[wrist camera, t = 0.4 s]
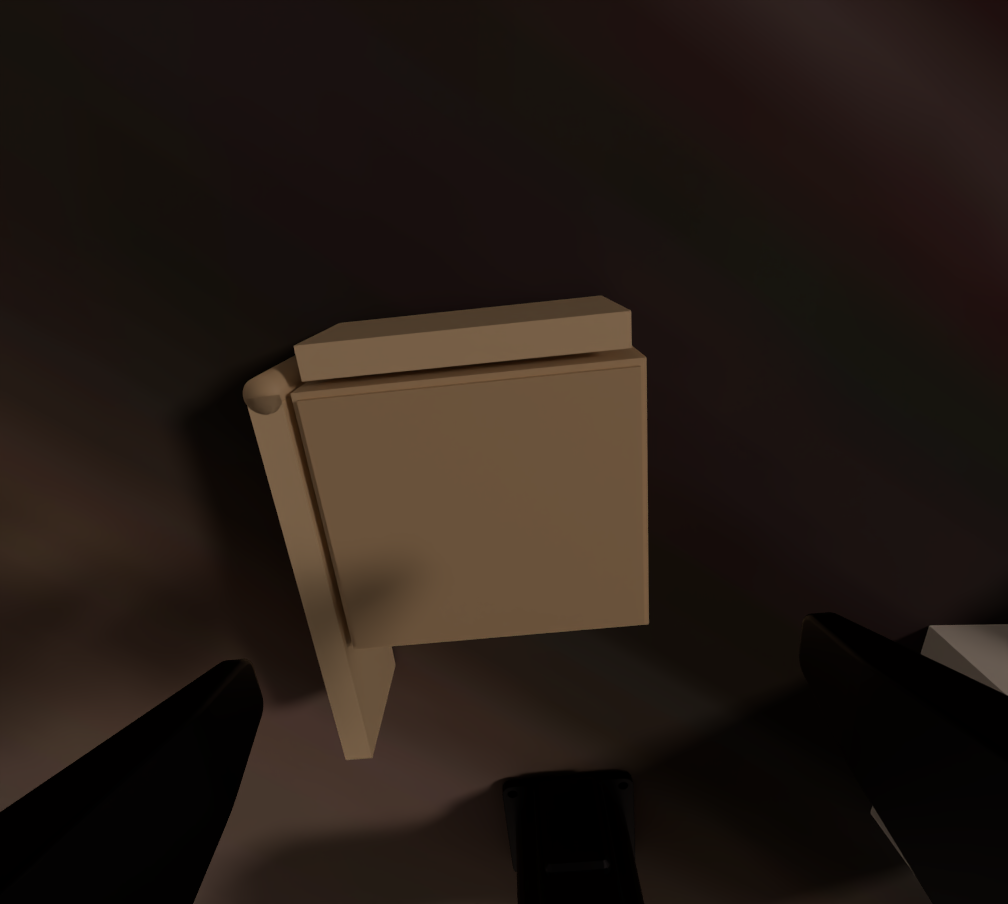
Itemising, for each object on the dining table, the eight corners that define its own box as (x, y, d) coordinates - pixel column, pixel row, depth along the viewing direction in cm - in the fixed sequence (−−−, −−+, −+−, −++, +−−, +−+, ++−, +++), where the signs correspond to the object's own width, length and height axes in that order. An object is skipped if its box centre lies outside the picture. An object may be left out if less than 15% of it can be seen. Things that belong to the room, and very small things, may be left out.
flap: (396, 665, 25) (373, 757, 20) (372, 667, 25) (344, 759, 20) (328, 345, 20) (276, 375, 15) (297, 348, 20) (238, 379, 15)
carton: (618, 546, 23) (650, 628, 18) (383, 567, 23) (352, 653, 18) (611, 293, 19) (647, 310, 14) (331, 322, 20) (276, 348, 15)
